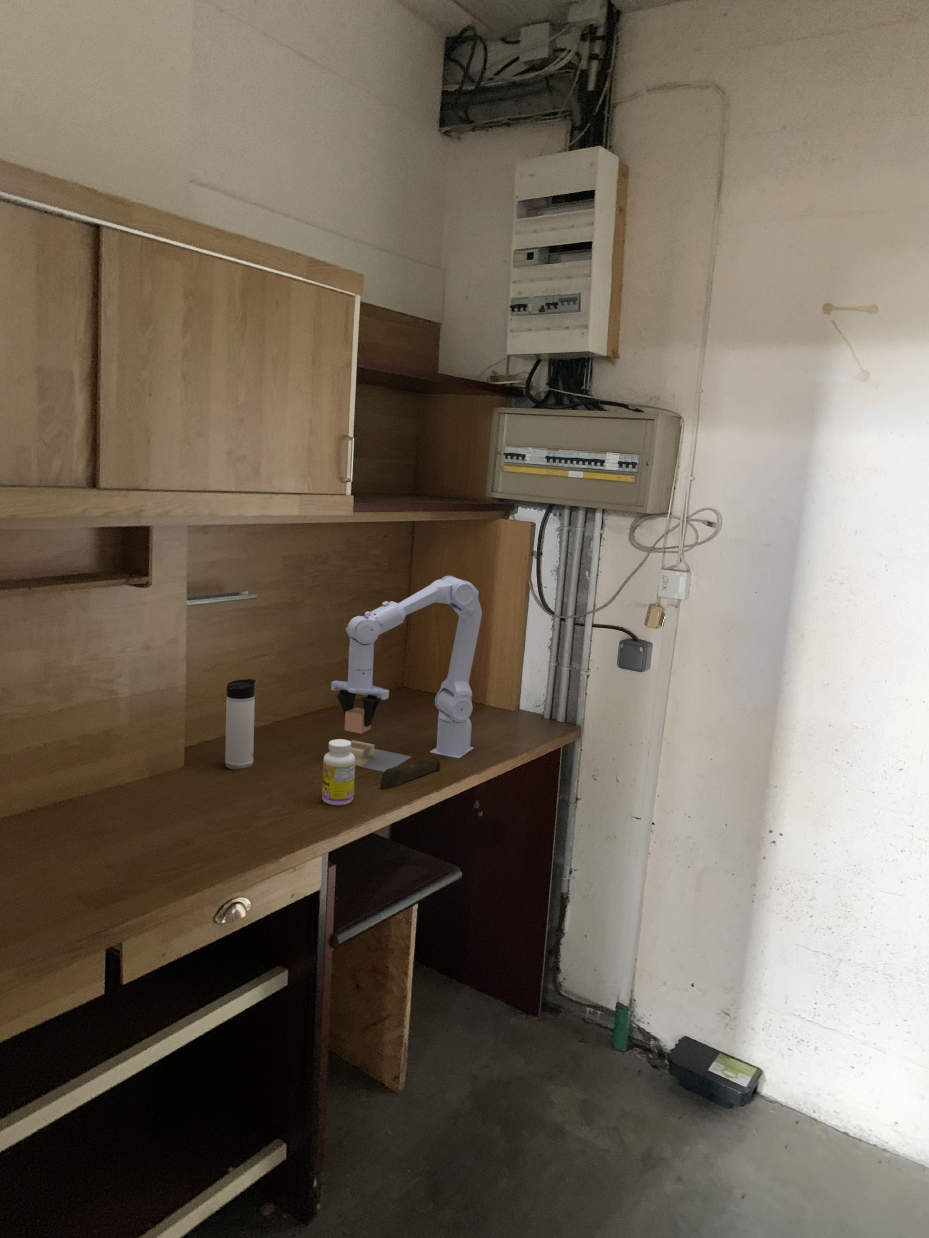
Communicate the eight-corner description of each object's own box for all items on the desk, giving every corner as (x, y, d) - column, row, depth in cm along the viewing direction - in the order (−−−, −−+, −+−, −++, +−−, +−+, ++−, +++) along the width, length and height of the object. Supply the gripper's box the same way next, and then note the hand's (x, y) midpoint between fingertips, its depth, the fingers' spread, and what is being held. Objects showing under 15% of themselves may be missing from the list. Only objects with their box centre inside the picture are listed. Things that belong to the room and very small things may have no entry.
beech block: (352, 753, 221) (352, 740, 221) (373, 758, 219) (374, 744, 219) (339, 760, 216) (339, 746, 215) (361, 765, 214) (361, 751, 213)
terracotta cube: (354, 725, 219) (355, 707, 218) (370, 728, 217) (371, 710, 216) (344, 730, 215) (345, 711, 214) (361, 733, 213) (361, 715, 212)
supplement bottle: (320, 795, 196) (322, 737, 193) (351, 793, 197) (353, 737, 195) (323, 807, 189) (326, 747, 187) (355, 805, 191) (358, 747, 189)
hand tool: (427, 769, 217) (428, 750, 216) (440, 773, 214) (441, 754, 213) (371, 789, 202) (372, 769, 201) (384, 794, 199) (385, 774, 199)
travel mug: (260, 765, 211) (261, 681, 208) (236, 772, 206) (238, 686, 202) (243, 758, 215) (244, 676, 211) (219, 764, 210) (220, 680, 206)
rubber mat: (362, 748, 228) (362, 746, 228) (412, 758, 222) (412, 756, 222) (334, 762, 216) (334, 760, 216) (386, 774, 211) (386, 772, 211)
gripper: (325, 666, 213) (322, 722, 215) (379, 675, 207) (376, 733, 210) (340, 660, 219) (338, 715, 222) (394, 670, 214) (391, 725, 216)
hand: (358, 723), depth 216 cm, fingers closed on terracotta cube, 4 cm apart
